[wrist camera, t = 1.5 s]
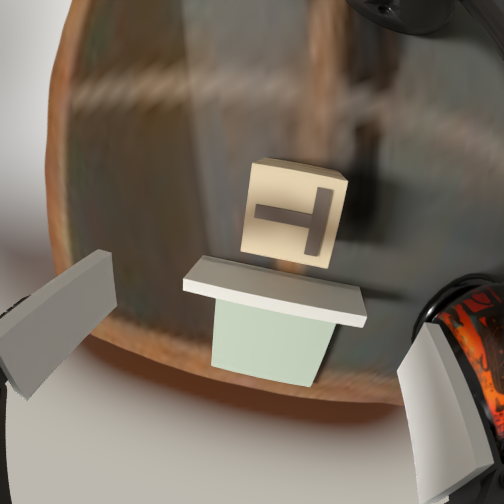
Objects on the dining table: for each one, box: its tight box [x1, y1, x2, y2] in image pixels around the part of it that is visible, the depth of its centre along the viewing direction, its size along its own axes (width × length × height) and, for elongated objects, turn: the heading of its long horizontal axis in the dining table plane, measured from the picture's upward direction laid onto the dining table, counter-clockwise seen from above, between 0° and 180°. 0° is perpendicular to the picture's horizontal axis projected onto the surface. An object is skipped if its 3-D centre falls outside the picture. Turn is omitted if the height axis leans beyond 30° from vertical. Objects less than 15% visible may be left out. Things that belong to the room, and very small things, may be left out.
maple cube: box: [241, 158, 348, 268], centre depth 27 cm, size 8×8×8 cm
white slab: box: [183, 255, 367, 328], centre depth 32 cm, size 3×20×6 cm, turn 82°
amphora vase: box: [411, 275, 504, 464], centre depth 20 cm, size 22×22×28 cm
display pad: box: [211, 298, 336, 387], centre depth 39 cm, size 14×16×1 cm
